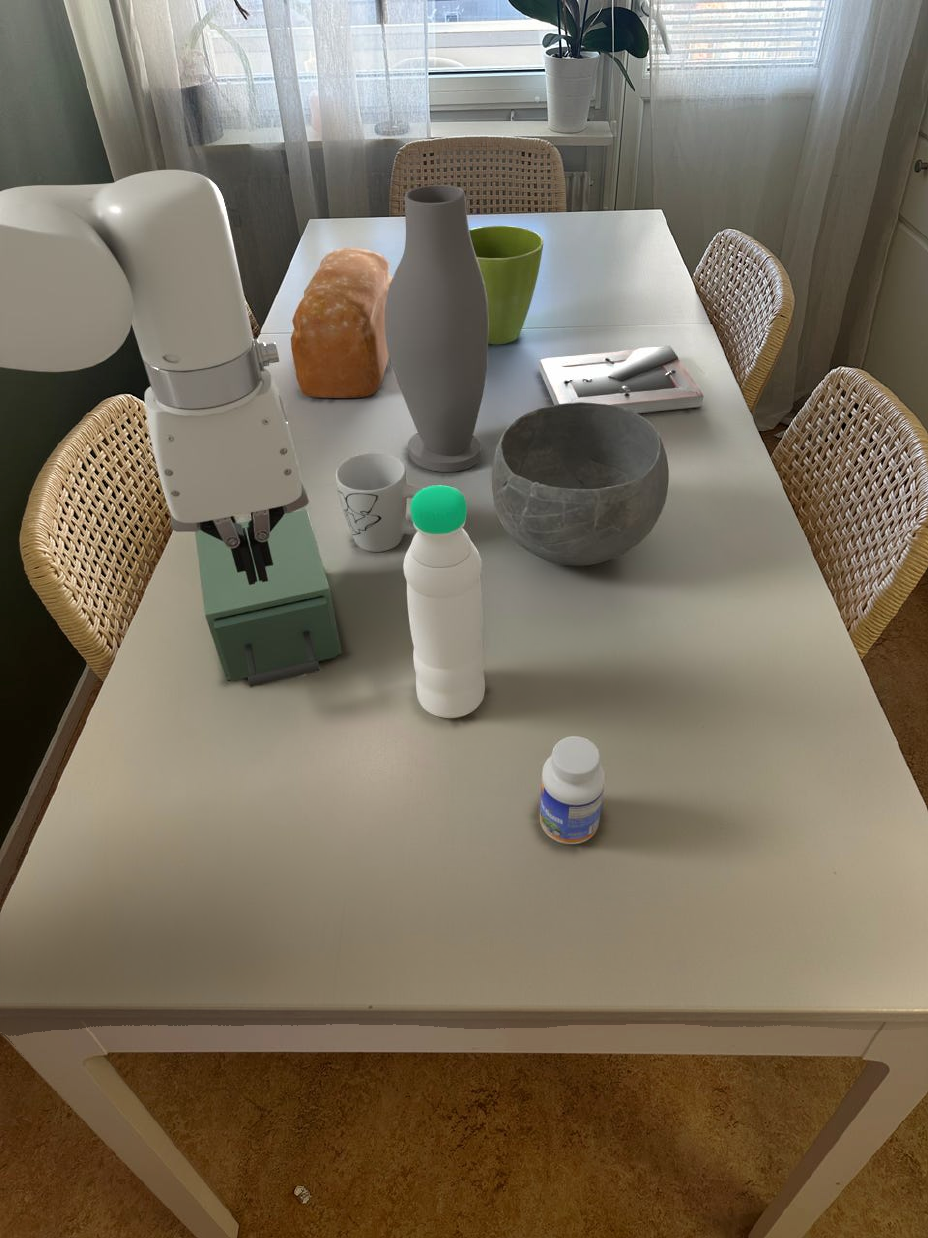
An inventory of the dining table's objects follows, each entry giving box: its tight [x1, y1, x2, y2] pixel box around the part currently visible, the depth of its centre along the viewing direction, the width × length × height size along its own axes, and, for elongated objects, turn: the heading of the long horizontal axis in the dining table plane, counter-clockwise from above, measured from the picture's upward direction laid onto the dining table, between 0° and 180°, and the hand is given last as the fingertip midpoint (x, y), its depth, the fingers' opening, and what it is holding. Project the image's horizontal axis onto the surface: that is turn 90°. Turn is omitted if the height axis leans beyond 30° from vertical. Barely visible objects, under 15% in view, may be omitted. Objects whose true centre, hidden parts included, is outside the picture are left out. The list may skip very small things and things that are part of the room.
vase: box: [385, 184, 489, 473], centre depth 112 cm, size 13×13×35 cm
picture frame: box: [538, 345, 705, 415], centre depth 135 cm, size 16×2×22 cm
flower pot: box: [469, 225, 545, 346], centre depth 146 cm, size 15×15×16 cm
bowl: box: [490, 402, 670, 567], centre depth 103 cm, size 20×20×15 cm
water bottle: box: [403, 484, 486, 719], centre depth 82 cm, size 7×7×25 cm
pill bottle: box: [539, 735, 606, 845], centre depth 75 cm, size 5×5×10 cm
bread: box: [290, 247, 393, 399], centre depth 141 cm, size 14×26×16 cm, turn 176°
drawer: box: [213, 596, 338, 688], centre depth 93 cm, size 19×11×8 cm, turn 17°
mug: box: [335, 451, 423, 553], centre depth 106 cm, size 11×8×10 cm
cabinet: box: [194, 508, 343, 681], centre depth 96 cm, size 15×13×10 cm
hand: (256, 572), depth 73 cm, fingers closed
